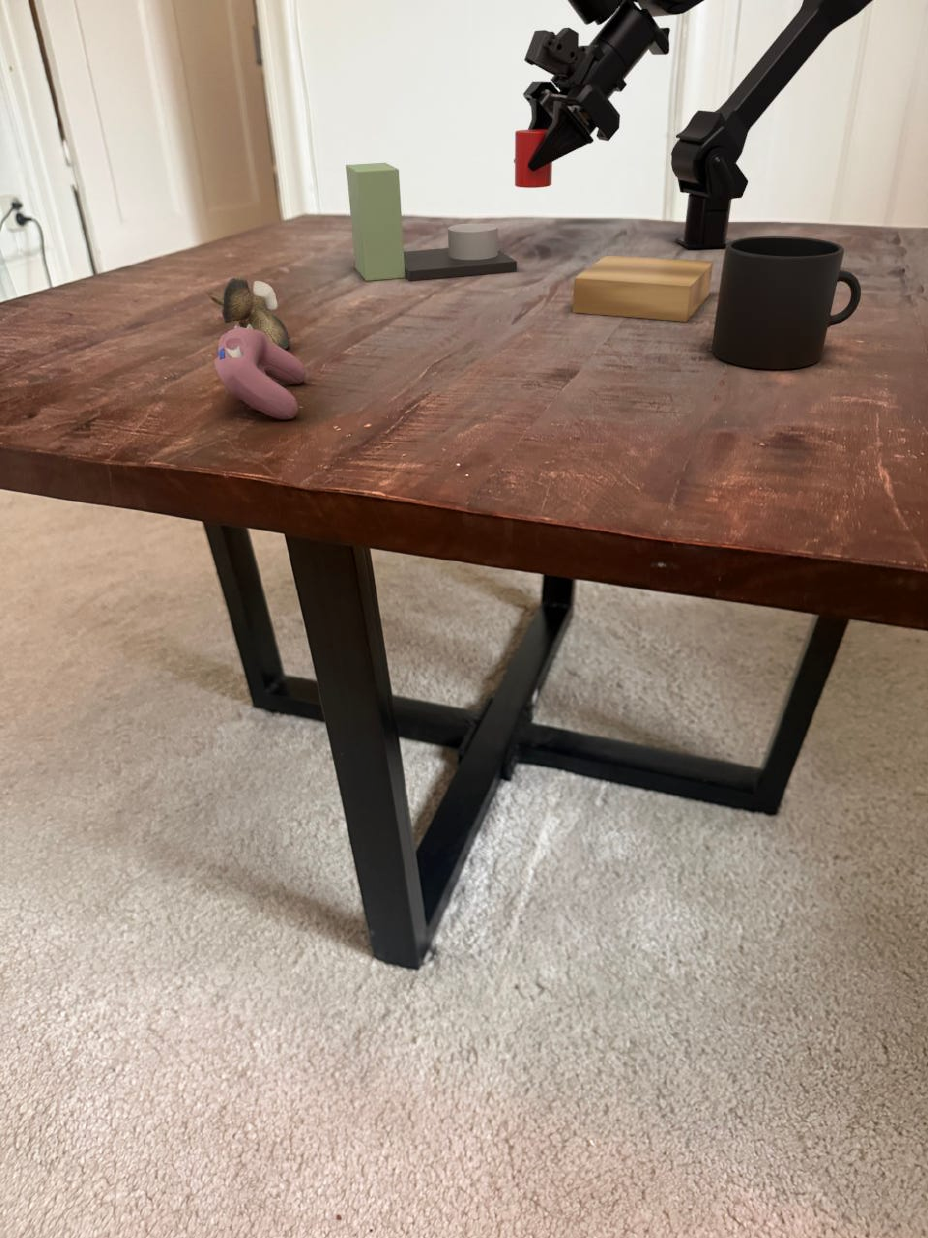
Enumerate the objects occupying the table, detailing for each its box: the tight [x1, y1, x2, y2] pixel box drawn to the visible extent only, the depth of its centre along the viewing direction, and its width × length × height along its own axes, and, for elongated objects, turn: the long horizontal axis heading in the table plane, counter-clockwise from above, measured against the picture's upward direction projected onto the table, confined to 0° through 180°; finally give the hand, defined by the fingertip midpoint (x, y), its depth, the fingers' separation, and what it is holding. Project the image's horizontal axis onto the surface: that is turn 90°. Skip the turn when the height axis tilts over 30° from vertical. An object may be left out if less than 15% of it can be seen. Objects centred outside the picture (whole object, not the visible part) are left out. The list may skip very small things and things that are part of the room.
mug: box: [711, 235, 862, 370], centre depth 73 cm, size 9×12×9 cm
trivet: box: [572, 254, 714, 323], centre depth 90 cm, size 12×12×4 cm
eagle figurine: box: [205, 277, 291, 350], centre depth 81 cm, size 8×7×9 cm
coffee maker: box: [345, 162, 518, 282], centre depth 106 cm, size 19×12×12 cm, turn 106°
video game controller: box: [214, 324, 307, 420], centre depth 67 cm, size 10×5×7 cm, turn 5°
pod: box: [514, 129, 553, 189], centre depth 105 cm, size 5×5×6 cm
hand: (522, 166), depth 105 cm, fingers closed on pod, 4 cm apart
